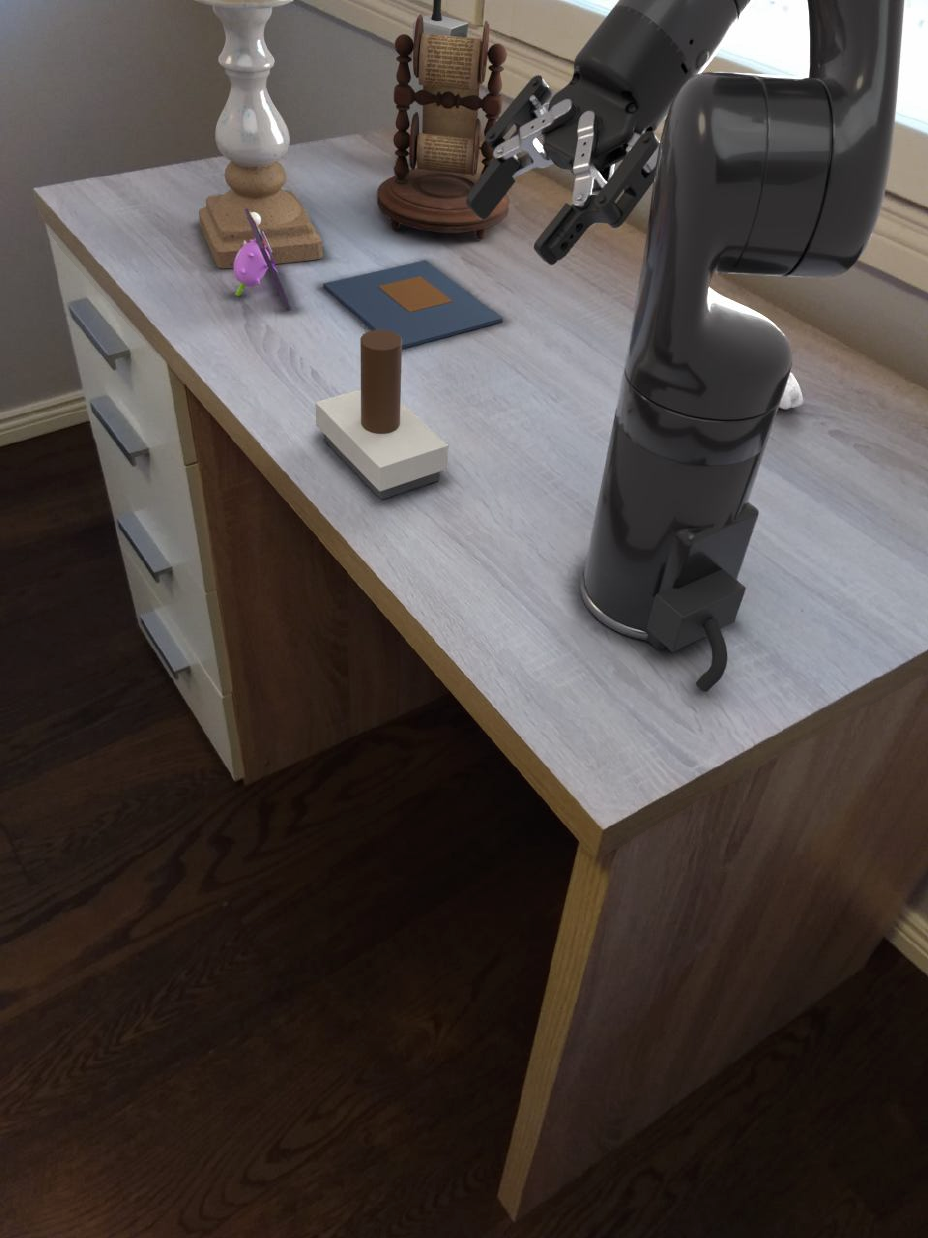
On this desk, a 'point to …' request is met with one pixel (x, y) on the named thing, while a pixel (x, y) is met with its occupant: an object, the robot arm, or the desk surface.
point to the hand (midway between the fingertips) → (507, 233)
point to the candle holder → (253, 149)
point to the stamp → (381, 424)
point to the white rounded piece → (791, 394)
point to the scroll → (442, 132)
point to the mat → (412, 303)
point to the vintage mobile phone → (438, 27)
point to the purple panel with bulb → (255, 260)
